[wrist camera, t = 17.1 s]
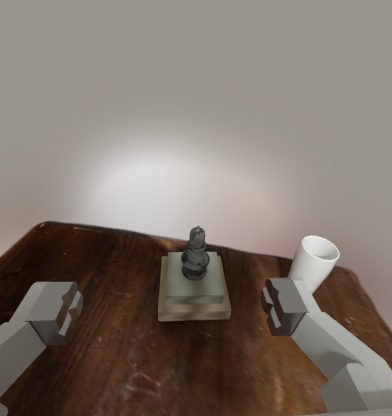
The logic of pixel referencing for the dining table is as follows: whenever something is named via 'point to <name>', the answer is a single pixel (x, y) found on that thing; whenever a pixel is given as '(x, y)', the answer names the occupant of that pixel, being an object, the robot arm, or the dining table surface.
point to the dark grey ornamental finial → (195, 256)
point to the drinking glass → (314, 261)
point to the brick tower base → (191, 309)
